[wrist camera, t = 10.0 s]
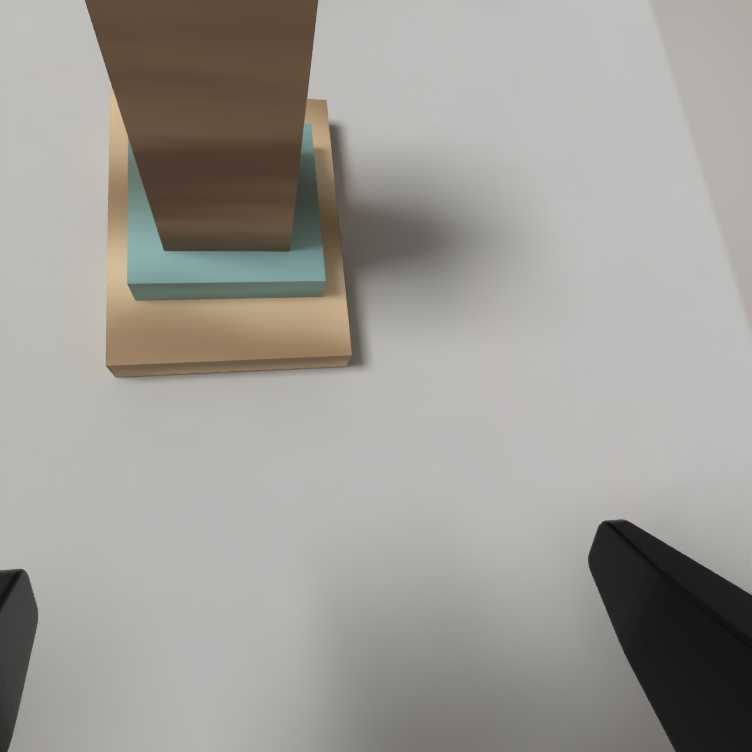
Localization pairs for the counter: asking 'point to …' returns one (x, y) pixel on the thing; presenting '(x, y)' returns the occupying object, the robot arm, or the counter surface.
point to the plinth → (225, 320)
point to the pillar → (212, 113)
